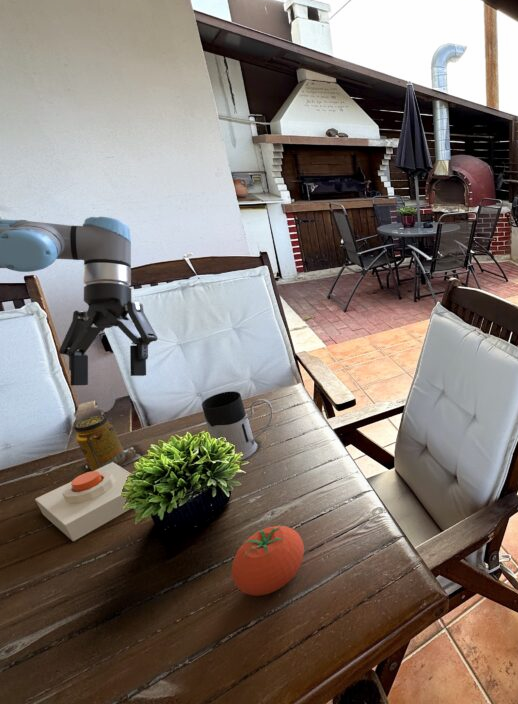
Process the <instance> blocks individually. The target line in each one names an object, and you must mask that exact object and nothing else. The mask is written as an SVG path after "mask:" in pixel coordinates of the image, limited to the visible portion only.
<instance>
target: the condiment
mask: <svg viewBox="0 0 518 704" xmlns="http://www.w3.org/2000/svg"><path fill="white" fill-rule="evenodd" d="M74 431H75V432H76V441H77V444H78V445H79V447H80V450H81V451H82V454H83V456H84V458H85V461H86V463H87V464H88V465H85V468H86V469H88V467H89V469H90V470H91V471H95V470H97V469H99V468H101V467H103V466H105V465H107V464H109V463H112V462H114V463H115V464H117V465H118V466H120V467H121V468H122V467H123V466H126V465H128V464H130V463H133V462H135V461H136V460H139V459H141V457H142V456H141V454H138V453H136V449H134V447H133V446H130V447H128V448H126V450H125V449H124V448H123V446H122V444H121V441H120V439H119V437H118V435H117V433H116V430H115V427H114V426H113V425H112V424H110V421H109V420H108V418H107V416H105V415H93V416H91V417H88V418H85V419H82V420H80V421H79V422H77V423H76V424H75V425H74ZM130 450H131V451H130ZM127 452H128V453H131V454H132V453H134V455H135V456H134V457H133V458H130V459H129V460H128V461H126V459H127V457H126V453H127ZM125 461H126V462H125ZM123 463H124V464H123Z"/></svg>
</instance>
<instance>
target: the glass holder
mask: <svg viewBox="0 0 518 704" xmlns="http://www.w3.org/2000/svg"><path fill="white" fill-rule="evenodd" d="M259 402H263V403H266V404H267V405H268V406H269V410H270V417H269V421H268V423H267V424H266V425H265V427H264V428H263V429H261V431H260V432H258V433H257V434H256V435H255V436H253V431H252V429H251V424H250V420H249V418H252V417H253V416H254V413H255V412H254V405H255V404H256V403H259ZM201 408H202V411H203V418H204V421H205V423H206V427H207V430H208V433H209V436H210V435H211V436H212V437H213V438H216V439H218V438H220V437H225V438H226V440H227V441H228V442H229V443H231V444H233V445H235V452H242V453H243V457H242V460H241V461H244V460H245V459H247V458H249V457H250V456H252V455H253V454H254V453H255V452H256V451H257V449H258V444H257V442H255V440H256V439H258V438H259V436H260V435H261V434H263V433H264V432H265V431H266V430H267V429H268V428H269V426H270V425H271V423H272V420H273V417H274V415H273V414H274V411H273V406H272V404H271V402H270V401H269V400H268V399H265V398H258V399H256V400H254V401H253V402H252V403H251V404H250V413H251V414H249V415H248V414H247V411H246V409H245V406H244V403H243V398H242V395H241V393H240V392H239V391H233V390H232V391H231V390H230V391H223V392H220V393H217V394H213V395H211V396H209V397H208V398H206V399H204V400H203V401H202V402H201ZM211 436H210V437H211Z"/></svg>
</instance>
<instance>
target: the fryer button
mask: <svg viewBox="0 0 518 704" xmlns="http://www.w3.org/2000/svg"><path fill="white" fill-rule="evenodd" d="M101 481H102V478H101V475H100V473H99V472H98V471H92V470H91V471H87V472H84V473H82V474H80V475H78V476H76V477H74V479H73V480H72V481H70V482H71V485H72V487H73V489H74V491H75V492H81V491H85V490H88V489H90V488H92V487H94V486H96V485H98V484H99V483H100V482H101Z"/></svg>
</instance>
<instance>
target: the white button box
mask: <svg viewBox="0 0 518 704" xmlns="http://www.w3.org/2000/svg"><path fill="white" fill-rule="evenodd" d="M120 466H121V465H119V466H118V465H117V464H115V463H114V462H112V463H109V464H107V465H105V466H103V467H101V468H99V469H97V470H95V471H98V472H99V473H100V475H101V478H102V481H101V482H100V483H99V484H98V485H96V486H94V487H92V488H90V489H88V490H85V491H81V492H75V491H74V489H73V487H72V485H71V482H72V481H70V482H67V483H65V484H63V485H60V486H59V487H57V488H55V489H53V490H50V491H49V492H46V493H45V494H42V495H40V496H38V497H36V498H34V501H35V503H36V504H37V507H38V508H39V510H40V512H41V514H42V515H43V517H45V518H46V519H47V520H48V521H50V522H51V524H53V525H54V526H55V527H56V528H57V529H59V530H60V532H62V533H63V534H64V535H65V536H66V537H67V538H68V539H69V540H71V541H72V542H76V541H77V540H78V539H80V538H82V537H84V536H86V535H87V534H89V533H91V532H92V531H94V530H96V529H98V528H100V527H101V526H104V525H105V524H107V523H108V522H110V521H112V520H113V519H115V518H117V517H119V516H120V515H123V514H124V513H126V512H128V511H130V509H123V505H124V504H125V502H126V498H125V497H123V496H122V495H121V492H122V489H123V486H124V484H125V482H126V480H127V477H128V476H129V475H130V474H132V473H131V472H129V471H128V470H126V469H125V468H123V467H122V466H121V467H120Z"/></svg>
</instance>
